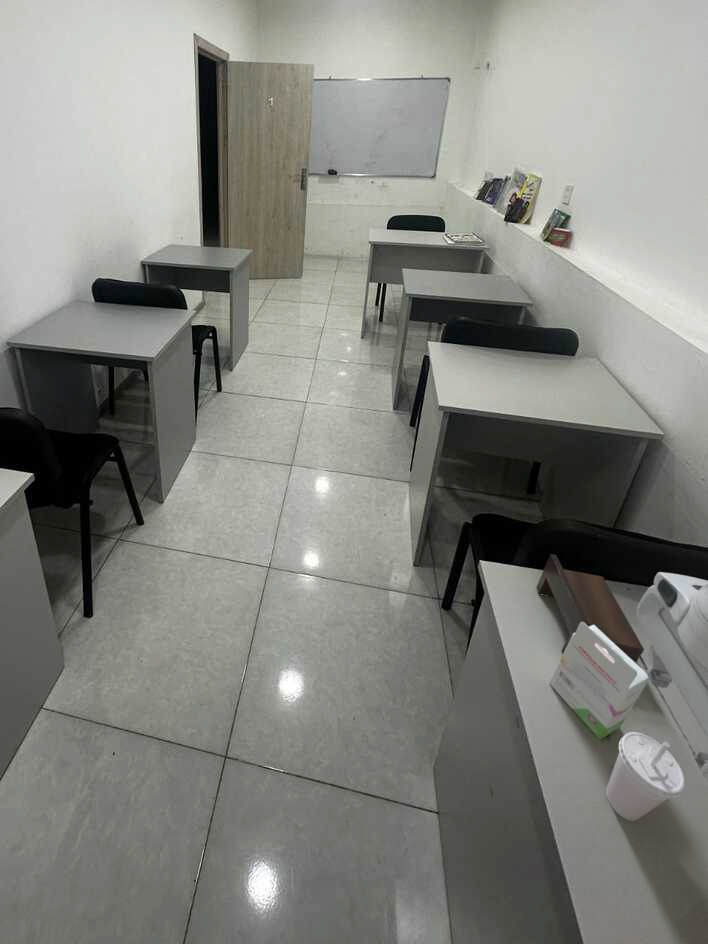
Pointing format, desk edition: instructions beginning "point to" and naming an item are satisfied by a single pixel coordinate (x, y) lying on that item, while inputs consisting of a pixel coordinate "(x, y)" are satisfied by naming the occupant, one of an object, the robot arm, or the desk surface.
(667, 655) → the robot arm
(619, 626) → the shelf
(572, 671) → the ink box
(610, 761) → the desk surface
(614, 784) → the smoothie
